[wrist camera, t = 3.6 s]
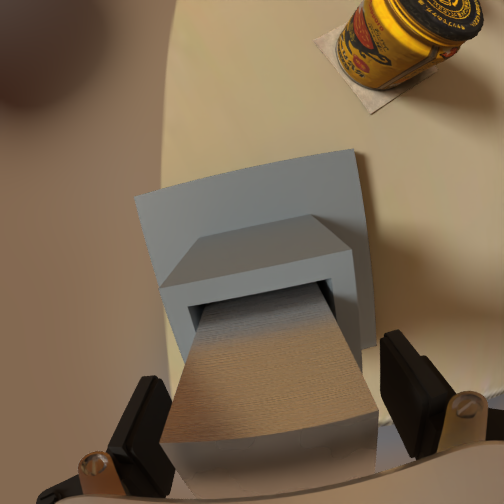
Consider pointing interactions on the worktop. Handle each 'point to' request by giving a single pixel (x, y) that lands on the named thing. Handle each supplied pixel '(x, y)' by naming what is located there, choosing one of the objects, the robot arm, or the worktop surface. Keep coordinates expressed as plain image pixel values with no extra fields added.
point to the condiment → (398, 44)
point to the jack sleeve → (264, 241)
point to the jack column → (270, 400)
